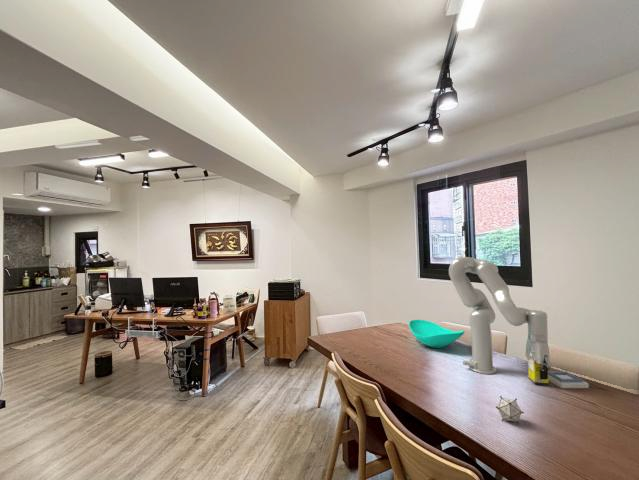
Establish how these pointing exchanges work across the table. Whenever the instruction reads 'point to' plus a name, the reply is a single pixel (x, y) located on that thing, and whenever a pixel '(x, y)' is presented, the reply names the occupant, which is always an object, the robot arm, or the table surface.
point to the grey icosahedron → (509, 409)
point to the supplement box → (535, 372)
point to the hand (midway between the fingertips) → (538, 375)
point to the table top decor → (433, 333)
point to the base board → (566, 380)
